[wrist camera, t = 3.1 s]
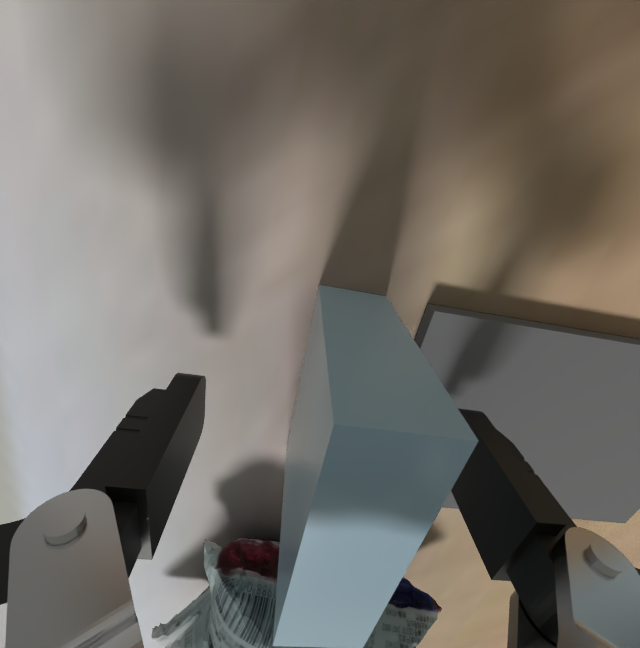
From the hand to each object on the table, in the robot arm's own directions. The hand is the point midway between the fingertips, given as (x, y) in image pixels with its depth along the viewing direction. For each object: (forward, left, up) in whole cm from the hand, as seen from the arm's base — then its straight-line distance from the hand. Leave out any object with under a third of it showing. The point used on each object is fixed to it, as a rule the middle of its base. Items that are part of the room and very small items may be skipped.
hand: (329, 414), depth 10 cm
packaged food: (-1, +13, -2) cm, 13 cm away
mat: (-9, +1, -2) cm, 9 cm away
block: (0, 0, -2) cm, 2 cm away
